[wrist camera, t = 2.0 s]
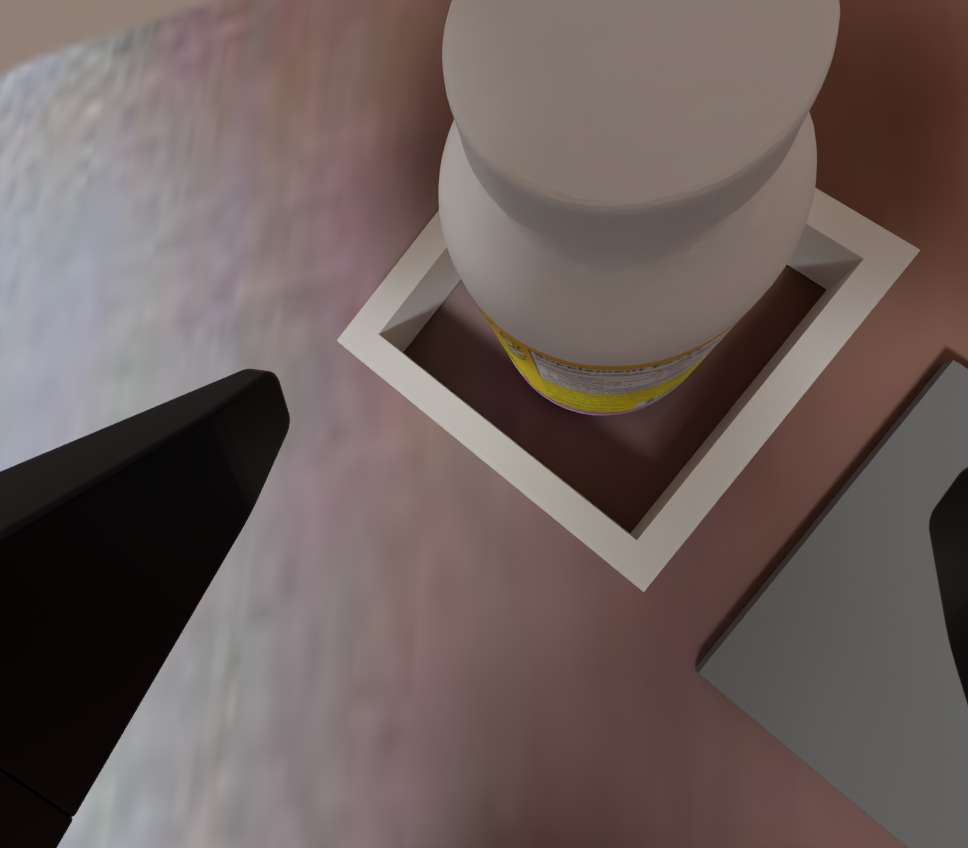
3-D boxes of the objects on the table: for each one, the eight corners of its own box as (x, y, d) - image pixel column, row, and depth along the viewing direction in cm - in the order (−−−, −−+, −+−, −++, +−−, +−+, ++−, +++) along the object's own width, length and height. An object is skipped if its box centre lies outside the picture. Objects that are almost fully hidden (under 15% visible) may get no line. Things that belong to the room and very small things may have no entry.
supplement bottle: (517, 226, 20) (402, -203, 8) (712, 232, 19) (958, -268, 6) (495, 411, 20) (332, 275, 7) (696, 430, 18) (933, 305, 6)
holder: (635, 578, 18) (643, 592, 16) (366, 358, 21) (336, 340, 18) (874, 282, 18) (920, 249, 15) (572, 95, 20) (570, 42, 18)
